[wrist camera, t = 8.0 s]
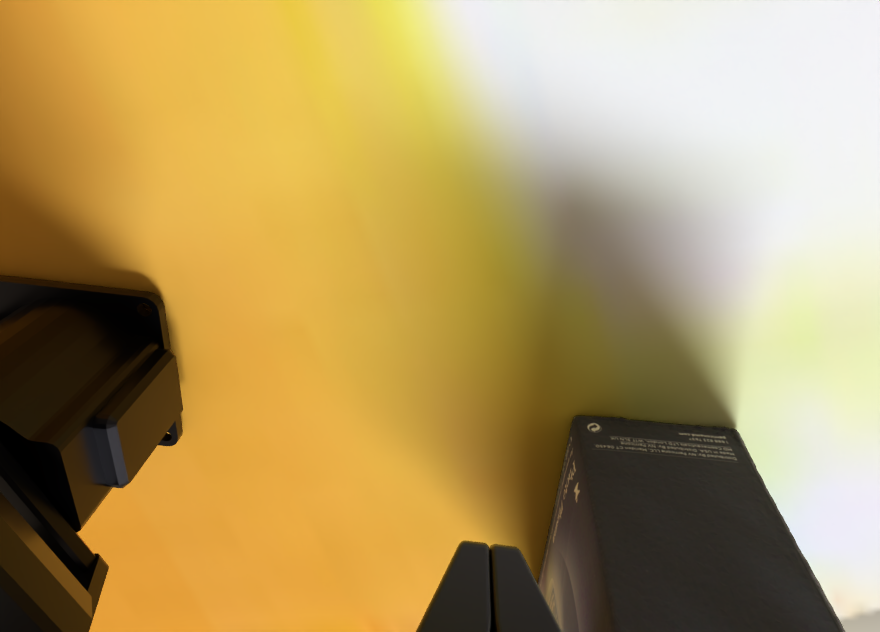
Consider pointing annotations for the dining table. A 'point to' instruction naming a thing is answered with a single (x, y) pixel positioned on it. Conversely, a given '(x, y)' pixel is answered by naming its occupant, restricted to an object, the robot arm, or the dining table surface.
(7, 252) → the dining table surface
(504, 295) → the dining table surface
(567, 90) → the dining table surface
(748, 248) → the dining table surface
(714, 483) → the small box
